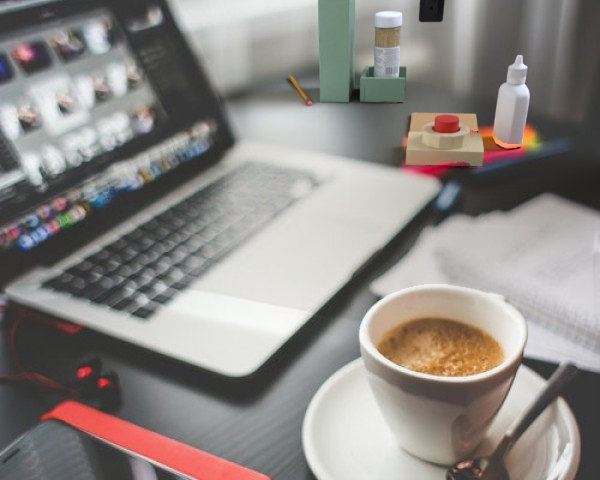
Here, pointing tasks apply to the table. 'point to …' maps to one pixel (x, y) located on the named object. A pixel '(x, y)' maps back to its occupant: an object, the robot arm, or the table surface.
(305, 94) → the pencil
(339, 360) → the table surface
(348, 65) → the dock machine
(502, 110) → the eye dropper bottle
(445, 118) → the button
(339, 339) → the table surface
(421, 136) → the button box
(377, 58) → the sprinkles bottle
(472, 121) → the cork mat
